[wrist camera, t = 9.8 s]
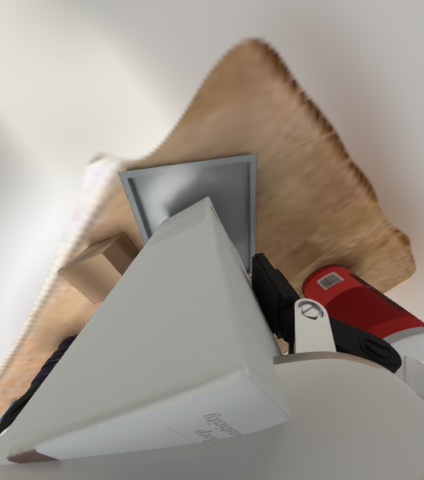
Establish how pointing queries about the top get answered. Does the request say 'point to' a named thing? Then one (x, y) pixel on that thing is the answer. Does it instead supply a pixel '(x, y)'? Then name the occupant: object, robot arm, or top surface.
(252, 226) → the slate tray
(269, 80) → the top surface
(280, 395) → the skincare box
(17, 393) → the top surface
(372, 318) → the canned food
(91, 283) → the walnut block
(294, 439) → the robot arm
